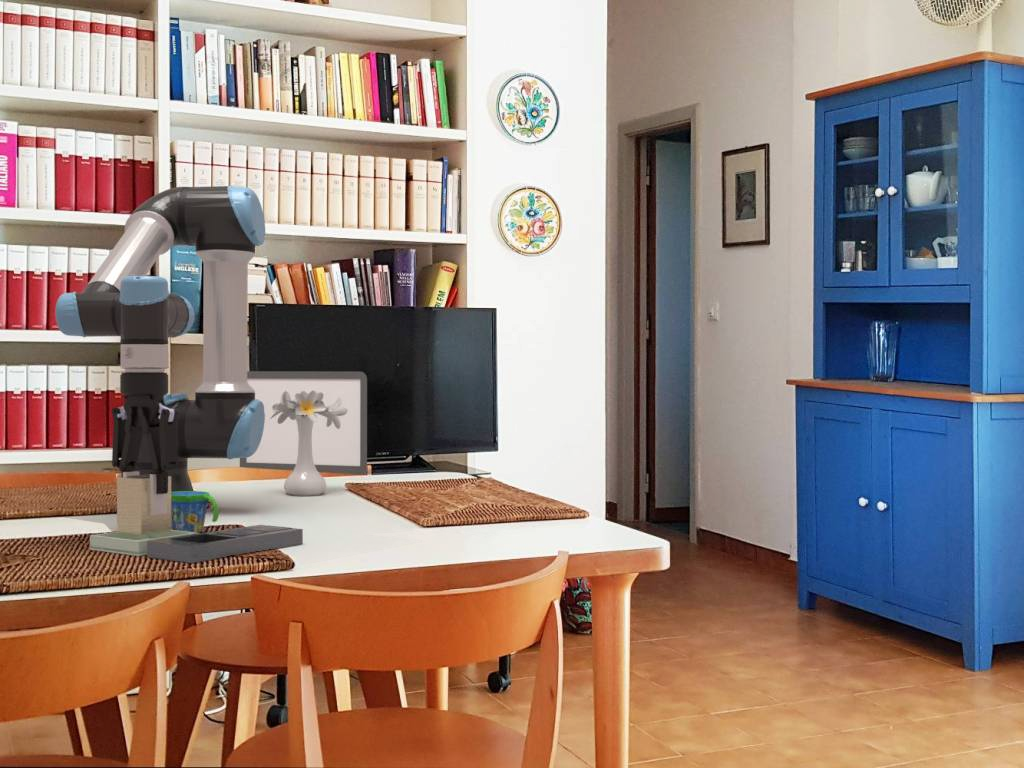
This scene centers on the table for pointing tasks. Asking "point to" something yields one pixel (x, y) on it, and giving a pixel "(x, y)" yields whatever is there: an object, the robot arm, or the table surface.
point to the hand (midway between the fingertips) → (144, 512)
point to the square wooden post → (140, 507)
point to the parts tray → (129, 541)
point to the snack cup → (191, 510)
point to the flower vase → (306, 438)
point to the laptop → (329, 444)
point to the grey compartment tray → (223, 543)
